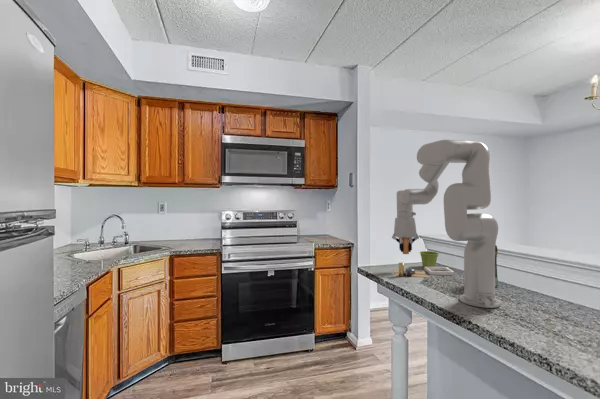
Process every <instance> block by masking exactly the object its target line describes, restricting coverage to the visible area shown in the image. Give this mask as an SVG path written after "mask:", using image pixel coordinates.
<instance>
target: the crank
mask: <svg viewBox="0 0 600 399" xmlns="http://www.w3.org/2000/svg"><path fill="white" fill-rule="evenodd" d="M398 270H399V276H406V275H407V272H412V274H415V270H416V269H415V268H410V267H409V268H405V263H404V262H398ZM404 270H405V271H404Z"/></svg>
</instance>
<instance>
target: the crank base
mask: <svg viewBox="0 0 600 399" xmlns="http://www.w3.org/2000/svg"><path fill="white" fill-rule="evenodd" d="M404 271H405V269H404ZM393 272H394V274H395V275H396V277H399V278H422V279H423V278H424V279H427V278H428V279H429V278H430V276H428V275H427V274H426V272H424V271H423V270H416V269H415V274H412V272H407V275H406V276H399V269H393Z"/></svg>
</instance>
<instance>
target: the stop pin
mask: <svg viewBox="0 0 600 399" xmlns="http://www.w3.org/2000/svg"><path fill="white" fill-rule="evenodd" d="M402 244H403V252H402V254H403V255H410V252H409V238H402Z"/></svg>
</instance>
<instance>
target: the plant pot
mask: <svg viewBox="0 0 600 399" xmlns="http://www.w3.org/2000/svg"><path fill="white" fill-rule="evenodd" d="M419 254H420V258H421V265H422V268H424V267H437V260H438V257H439V252H437V251H429V250H428V251H427V250H425V251H424V250H423V251H419Z"/></svg>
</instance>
